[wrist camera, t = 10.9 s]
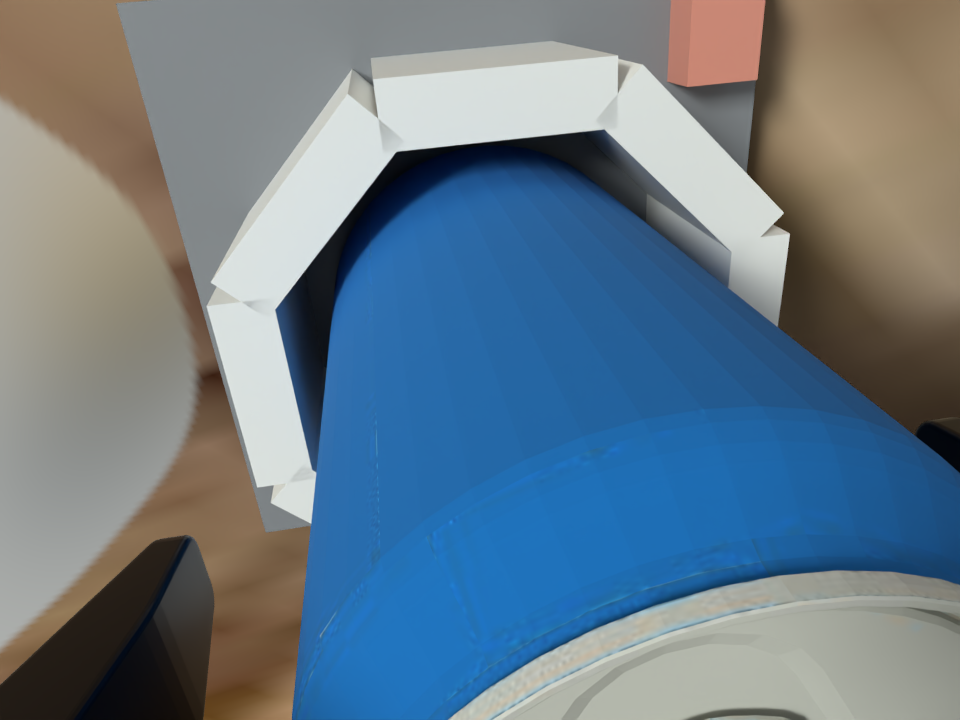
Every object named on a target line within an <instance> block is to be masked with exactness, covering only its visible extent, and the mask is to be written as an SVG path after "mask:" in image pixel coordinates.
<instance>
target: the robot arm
mask: <svg viewBox="0 0 960 720" xmlns="http://www.w3.org/2000/svg"><path fill="white" fill-rule="evenodd" d="M915 436H916V437H917V438H918V439H920V440H921V441H922V442H923V443H925V444H926V445H927V446H928V447H930V448H931V449H932V450H933V451H935V452H936V453H937V454H939V455H940V456H941V457H942V458H943V459H944V460H946V461H947V462H948V463H949V464H950V465H951V466H952V467H953V468H955V469H956V470H957V471H958V472H959V473H960V418H956V417H949V418H943V419H936V420H930V421H926V422H924V423H922V424H921V425H920V426H919V427H918V429H917V431H916V433H915ZM213 613H214V593H213V588H212V584H211V581H210V578H209V576H208V573H207V570H206V567H205V564H204V561H203V558H202V555H201V553H200V550H199V547H198V544H197V542H196V541H195V540H194V538H193V537H191V536H188V535H184V536H177V537H171V538H164V539H159V540H156V541H154V542H152V543H151V544H150V545H149V546H148V547H147V548H146V549H144V550H143V551H142V552H141V553H140V554H139V555H138V556H137V557H136V558H135V559H134V560H133V561H132V562H131V563H130V564H128V565H127V566H126V567H125V568H124V569H123V570H122V571H121V572H120V573H119V574H118V575H117V576H116V577H115V578H114V579H113V580H111V581H110V582H109V583H108V584H107V585H106V586H105V587H104V588H103V589H102V590H101V591H100V592H99V593H98V594H97V595H95V596H94V597H93V598H92V599H91V600H90V601H89V602H88V603H87V604H86V605H85V606H84V607H83V608H82V609H81V610H79V611H78V612H77V613H76V614H75V615H74V616H73V617H72V618H71V619H70V620H69V621H68V622H67V623H66V624H65V625H64V626H62V627H61V628H60V629H59V630H58V631H57V632H56V633H55V634H54V635H53V636H52V637H51V638H50V639H49V640H48V641H46V642H45V643H44V644H43V645H42V646H41V647H40V648H39V649H38V650H37V651H36V652H35V653H34V654H33V655H32V656H31V657H29V658H28V659H27V660H26V661H25V662H24V663H23V664H22V665H21V666H20V667H19V668H18V669H17V670H16V671H15V672H13V673H12V674H11V675H10V676H9V677H8V678H7V679H6V680H5V681H4V682H3V683H2V684H1V685H0V720H203V717H204V707H205V697H206V686H207V676H208V666H209V655H210V645H211V634H212V624H213Z"/></svg>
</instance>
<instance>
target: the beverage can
mask: <svg viewBox="0 0 960 720" xmlns="http://www.w3.org/2000/svg"><path fill="white" fill-rule="evenodd" d="M292 720H960V473H959V472H958V471H957V470H956V469H955V468H953V467H952V466H951V465H950V464H949V463H948V462H947V461H946V460H944V459H943V458H942V457H941V456H940V455H939V454H937V453H936V452H935V451H933V450H932V449H931V448H930V447H928V446H927V445H926V444H925V443H923V442H922V441H921V440H920V439H918V438H917V437H916V436H915V435H913V434H912V433H911V432H909V431H908V430H907V429H906V428H904V427H903V426H902V425H901V424H899V423H898V422H897V421H896V420H894V419H893V418H892V417H891V416H889V415H888V414H887V413H885V412H884V411H883V410H882V409H880V408H879V407H878V406H877V405H875V404H874V403H873V402H872V401H870V400H869V399H868V398H867V397H865V396H864V395H863V394H861V393H860V392H859V391H858V390H856V389H855V388H854V387H853V386H851V385H850V384H849V383H848V382H846V381H845V380H844V379H843V378H841V377H840V376H839V375H837V374H836V373H835V372H834V371H832V370H831V369H830V368H829V367H827V366H826V365H825V364H824V363H822V362H821V361H820V360H819V359H817V358H816V357H815V356H813V355H812V354H811V353H810V352H808V351H807V350H806V349H805V348H803V347H802V346H801V345H800V344H798V343H797V342H796V341H795V340H793V339H792V338H791V337H789V336H788V335H787V334H786V333H784V332H783V331H782V330H781V329H779V328H778V327H777V326H776V325H774V324H773V323H772V322H771V321H769V320H768V319H767V318H765V317H764V316H763V315H762V314H760V313H759V312H758V311H757V310H755V309H754V308H753V307H752V306H750V305H749V304H748V303H747V302H745V301H744V300H743V299H741V298H740V297H739V296H738V295H736V294H735V293H734V292H733V291H731V290H730V289H729V288H728V287H726V286H725V285H724V284H723V283H721V282H720V281H719V280H717V279H716V278H715V277H714V276H712V275H711V274H710V273H709V272H707V271H706V270H705V269H704V268H702V267H701V266H700V265H699V264H697V263H696V262H695V261H693V260H692V259H691V258H690V257H688V256H687V255H686V254H685V253H683V252H682V251H681V250H680V249H678V248H677V247H676V246H675V245H673V244H672V243H671V242H669V241H668V240H667V239H666V238H664V237H663V236H662V235H661V234H659V233H658V232H657V231H656V230H654V229H653V228H652V227H651V226H649V225H648V224H647V223H645V222H644V221H643V220H642V219H640V218H639V217H638V216H637V215H635V214H634V213H633V212H632V211H630V210H629V209H628V208H627V207H625V206H624V205H623V204H621V203H620V202H619V201H618V200H616V199H615V198H614V197H613V196H611V195H610V194H609V193H608V192H606V191H605V190H604V189H603V188H601V187H600V186H599V185H597V184H596V183H595V182H594V181H592V180H591V179H590V178H589V177H587V176H586V175H585V174H584V173H582V172H580V171H579V170H577V169H576V168H574V167H573V166H571V165H569V164H568V163H566V162H564V161H562V160H559V159H557V158H555V157H553V156H551V155H548V154H545V153H542V152H538V151H535V150H531V149H528V148H521V147H513V146H498V145H484V146H477V147H470V148H463V149H459V150H455V151H452V152H448V153H444V154H441V155H439V156H436V157H434V158H432V159H429V160H427V161H424V162H422V163H420V164H418V165H417V166H415V167H413V168H412V169H410V170H408V171H407V172H405V173H403V174H402V175H400V176H399V177H398V178H397V179H395V180H394V181H393V182H392V183H390V184H389V185H388V186H386V187H385V188H384V189H383V190H382V191H381V192H380V193H379V194H378V195H377V196H376V197H375V198H374V199H373V201H372V202H371V203H370V204H369V205H368V206H367V208H366V209H365V211H364V212H363V213H362V215H361V216H360V217H359V219H358V220H357V222H356V224H355V225H354V227H353V229H352V231H351V233H350V235H349V237H348V238H347V241H346V244H345V246H344V249H343V252H342V254H341V257H340V261H339V265H338V270H337V275H336V281H335V291H334V301H333V311H332V321H331V331H330V341H329V351H328V361H327V371H326V381H325V391H324V401H323V411H322V421H321V431H320V441H319V451H318V461H317V471H316V481H315V491H314V501H313V511H312V521H311V531H310V541H309V551H308V561H307V571H306V581H305V591H304V601H303V611H302V621H301V631H300V641H299V651H298V661H297V671H296V681H295V691H294V701H293V711H292Z"/></svg>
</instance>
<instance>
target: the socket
mask: <svg viewBox="0 0 960 720" xmlns="http://www.w3.org/2000/svg"><path fill="white" fill-rule="evenodd" d="M116 5H117V9H118V12H119V16H120V19H121V23H122V27H123V30H124V34H125V37H126V41H127V44H128V48H129V51H130V55H131V58H132V62H133V65H134V69H135V72H136V76H137V79H138V83H139V86H140V90H141V94H142V97H143V101H144V104H145V108H146V111H147V115H148V118H149V122H150V125H151V129H152V132H153V136H154V139H155V143H156V146H157V150H158V154H159V157H160V161H161V164H162V168H163V171H164V175H165V178H166V182H167V185H168V189H169V192H170V196H171V199H172V203H173V206H174V210H175V214H176V217H177V221H178V224H179V228H180V231H181V235H182V238H183V242H184V245H185V249H186V252H187V256H188V259H189V263H190V266H191V270H192V274H193V277H194V281H195V284H196V288H197V291H198V295H199V298H200V302H201V305H202V309H203V312H204V316H205V319H206V323H207V326H208V330H209V333H210V337H211V341H212V344H213V348H214V351H215V355H216V358H217V362H218V365H219V369H220V372H221V376H222V379H223V383H224V386H225V390H226V393H227V397H228V401H229V404H230V408H231V411H232V415H233V418H234V422H235V425H236V429H237V432H238V436H239V439H240V443H241V446H242V450H243V453H244V457H245V461H246V464H247V468H248V471H249V475H250V478H251V482H252V485H253V489H254V492H255V496H256V499H257V503H258V506H259V510H260V513H261V517H262V521H263V524H264V528H265V531H266V532H272V531H279V530H285V529H291V528H298V527H304V526H311V521H312V511H313V501H314V491H315V481H316V471H317V461H318V451H319V441H320V431H321V421H322V411H323V401H324V391H325V381H326V371H327V361H328V351H329V341H330V331H331V321H332V311H333V301H334V291H335V281H336V275H337V270H338V265H339V261H340V257H341V254H342V252H343V249H344V246H345V244H346V241H347V238H348V237H349V235H350V233H351V231H352V229H353V227H354V225H355V224H356V222H357V220H358V219H359V217H360V216H361V215H362V213H363V212H364V211H365V209H366V208H367V206H368V205H369V204H370V203H371V202H372V201H373V199H374V198H375V197H376V196H377V195H378V194H379V193H380V192H381V191H382V190H383V189H384V188H385V187H386V186H388V185H389V184H390V183H392V182H393V181H394V180H395V179H397V178H398V177H399V176H400V175H402V174H403V173H405V172H407V171H408V170H410V169H412V168H413V167H415V166H417V165H418V164H420V163H422V162H424V161H427V160H429V159H432V158H434V157H436V156H439V155H441V154H444V153H448V152H452V151H455V150H459V149H463V148H470V147H477V146H484V145H498V146H513V147H521V148H528V149H531V150H535V151H538V152H542V153H545V154H548V155H551V156H553V157H555V158H557V159H559V160H562V161H564V162H566V163H568V164H569V165H571V166H573V167H574V168H576V169H577V170H579V171H580V172H582V173H584V174H585V175H586V176H587V177H589V178H590V179H591V180H592V181H594V182H595V183H596V184H597V185H599V186H600V187H601V188H603V189H604V190H605V191H606V192H608V193H609V194H610V195H611V196H613V197H614V198H615V199H616V200H618V201H619V202H620V203H621V204H623V205H624V206H625V207H627V208H628V209H629V210H630V211H632V212H633V213H634V214H635V215H637V216H638V217H639V218H640V219H642V220H643V221H644V222H645V223H647V224H648V225H649V226H651V227H652V228H653V229H654V230H656V231H657V232H658V233H659V234H661V235H662V236H663V237H664V238H666V239H667V240H668V241H669V242H671V243H672V244H673V245H675V246H676V247H677V248H678V249H680V250H681V251H682V252H683V253H685V254H686V255H687V256H688V257H690V258H691V259H692V260H693V261H695V262H696V263H697V264H699V265H700V266H701V267H702V268H704V269H705V270H706V271H707V272H709V273H710V274H711V275H712V276H714V277H715V278H716V279H717V280H719V281H720V282H721V283H723V284H724V285H725V286H726V287H728V288H729V289H730V290H731V291H733V292H734V293H735V294H736V295H738V296H739V297H740V298H741V299H743V300H744V301H745V302H747V303H748V304H749V305H750V306H752V307H753V308H754V309H755V310H757V311H758V312H759V313H760V314H762V315H763V316H764V317H765V318H767V319H768V320H769V321H771V322H772V323H773V324H774V325H776V326H777V327H778V320H779V313H780V305H781V298H782V290H783V283H784V275H785V268H786V260H787V253H788V245H789V238H790V233H788V232H786V231H784V230H782V229H781V228H779V227H777V226H775V225H773V224H774V223H775V222H776V221H777V220H778V219H779V218H780V217H781V216H782V215H783V213H784V212H783V211H782V210H781V209H780V208H779V207H778V206H777V205H776V204H775V203H774V202H773V201H772V200H771V199H770V198H769V197H768V196H767V194H766V193H765V192H764V191H763V190H762V189H761V188H760V187H759V186H758V185H757V184H756V183H755V182H754V181H753V180H752V179H751V178H750V177H749V176H748V175H747V164H748V154H749V144H750V134H751V124H752V114H753V104H754V94H755V84H756V80H757V79H758V69H759V59H760V49H761V39H762V29H763V19H764V9H765V0H152V1H140V2H128V3H117V4H116Z"/></svg>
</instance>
